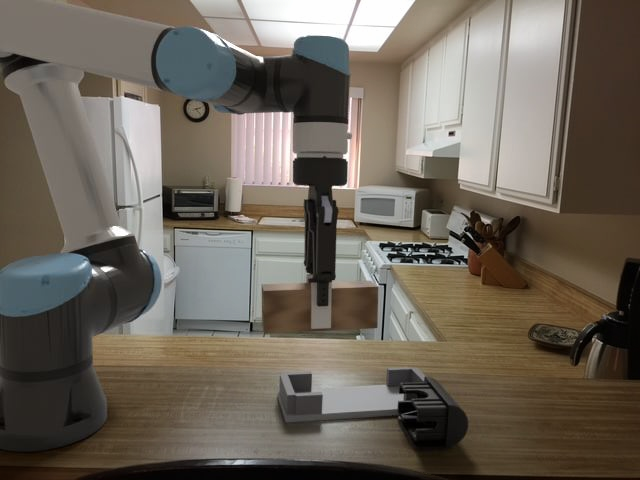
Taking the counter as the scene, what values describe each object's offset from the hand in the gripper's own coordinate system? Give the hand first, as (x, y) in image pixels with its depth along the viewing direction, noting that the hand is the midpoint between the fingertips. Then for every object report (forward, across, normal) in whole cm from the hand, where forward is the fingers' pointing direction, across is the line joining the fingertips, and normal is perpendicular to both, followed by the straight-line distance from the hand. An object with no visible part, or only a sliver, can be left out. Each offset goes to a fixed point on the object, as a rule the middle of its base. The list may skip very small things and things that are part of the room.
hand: (317, 322), depth 76 cm
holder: (+16, +6, -7) cm, 18 cm away
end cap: (+16, -4, -16) cm, 23 cm away
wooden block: (+1, 0, 0) cm, 1 cm away
